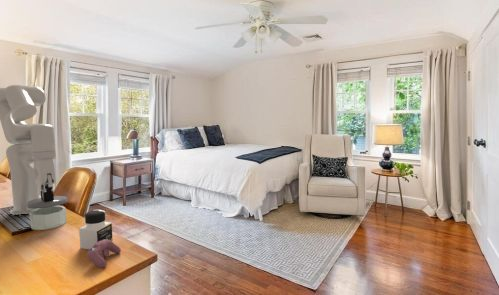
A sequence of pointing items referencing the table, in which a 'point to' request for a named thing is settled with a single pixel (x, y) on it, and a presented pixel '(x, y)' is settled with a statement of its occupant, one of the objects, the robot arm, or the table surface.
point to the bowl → (48, 218)
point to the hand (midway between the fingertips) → (47, 200)
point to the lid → (41, 204)
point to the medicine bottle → (94, 229)
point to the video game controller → (102, 252)
